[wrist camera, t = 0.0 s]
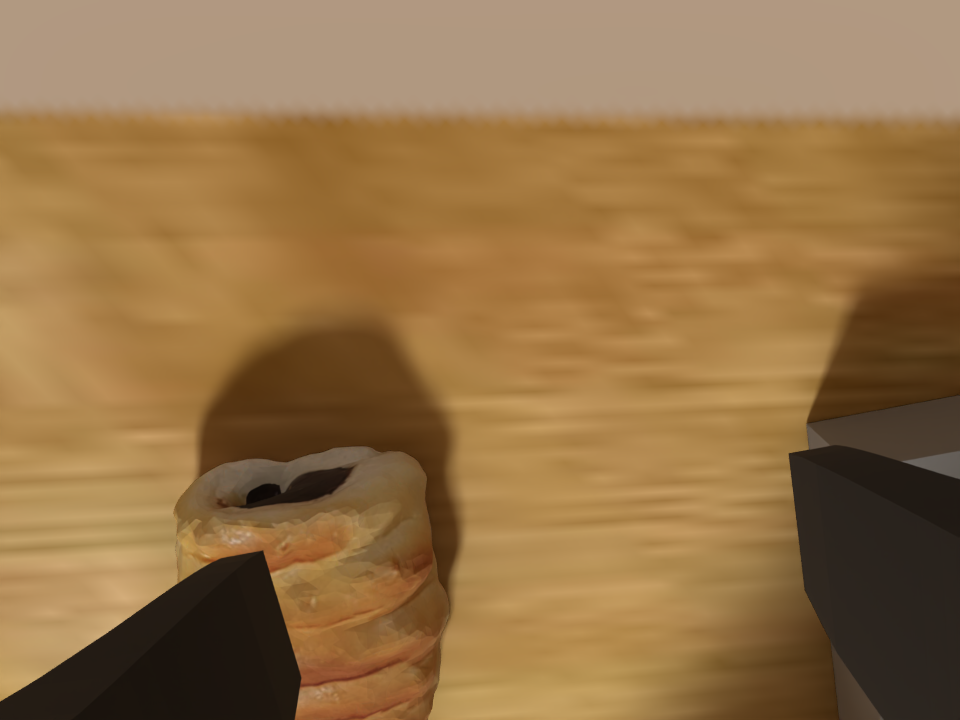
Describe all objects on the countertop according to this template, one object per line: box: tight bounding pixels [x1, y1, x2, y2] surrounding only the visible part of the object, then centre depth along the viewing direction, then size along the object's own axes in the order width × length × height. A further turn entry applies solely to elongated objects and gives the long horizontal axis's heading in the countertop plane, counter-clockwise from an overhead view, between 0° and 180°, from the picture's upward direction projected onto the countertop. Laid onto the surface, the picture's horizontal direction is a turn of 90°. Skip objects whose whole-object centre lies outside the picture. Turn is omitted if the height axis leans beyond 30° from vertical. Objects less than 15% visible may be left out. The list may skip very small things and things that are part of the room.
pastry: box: [173, 446, 450, 720], centre depth 21 cm, size 9×7×4 cm
